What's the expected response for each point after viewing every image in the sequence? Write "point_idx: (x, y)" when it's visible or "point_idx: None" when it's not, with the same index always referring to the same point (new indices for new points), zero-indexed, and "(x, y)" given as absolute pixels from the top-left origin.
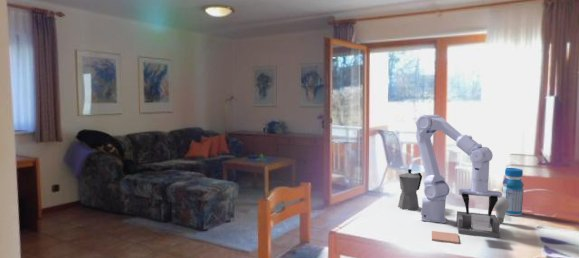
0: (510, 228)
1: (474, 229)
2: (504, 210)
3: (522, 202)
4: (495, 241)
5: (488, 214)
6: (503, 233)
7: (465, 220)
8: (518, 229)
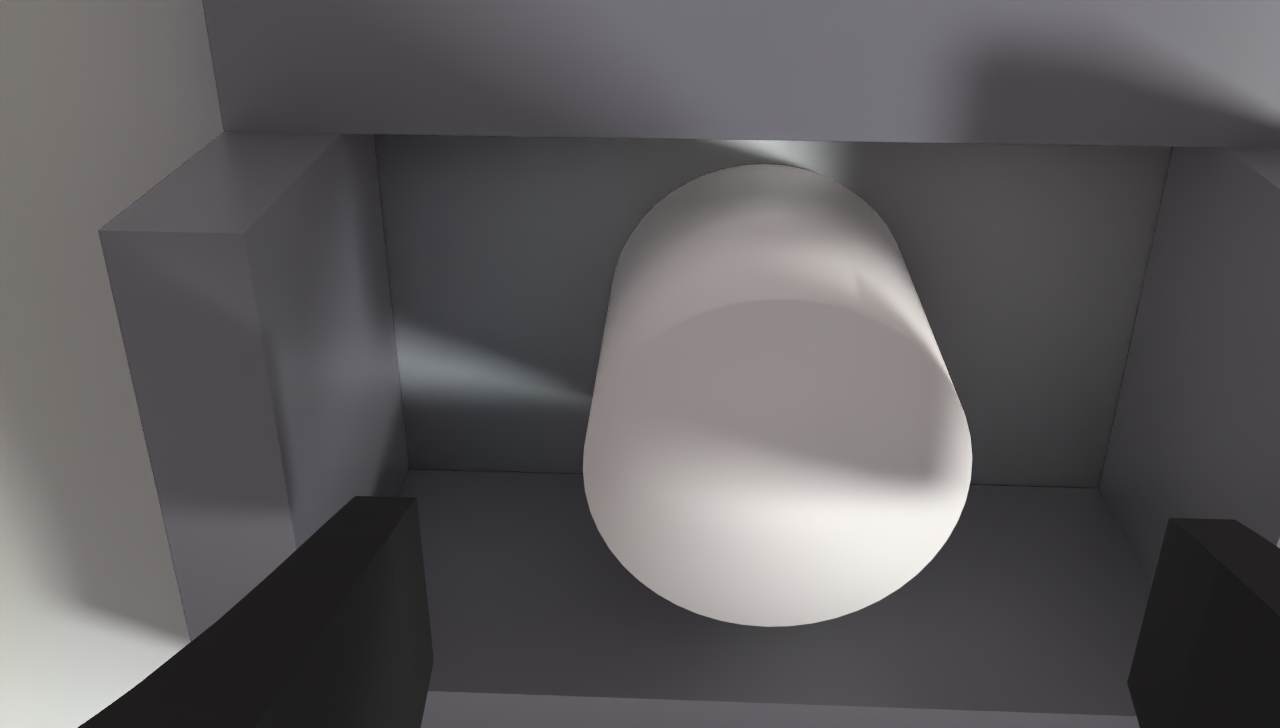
0: (51, 720)
1: (862, 221)
2: None
3: None
4: None
5: (419, 614)
6: None
7: (1059, 604)
8: None
